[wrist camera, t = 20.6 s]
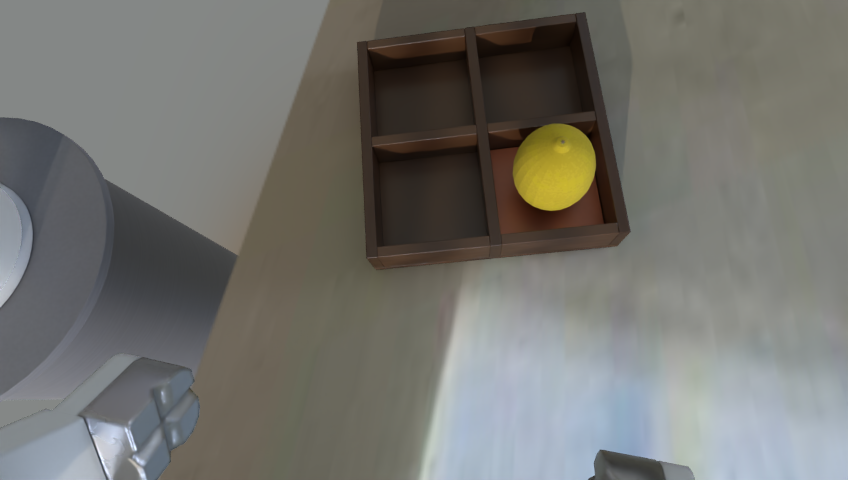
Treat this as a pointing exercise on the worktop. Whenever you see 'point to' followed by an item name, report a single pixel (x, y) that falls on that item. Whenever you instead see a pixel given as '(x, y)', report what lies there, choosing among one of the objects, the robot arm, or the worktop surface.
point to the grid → (479, 142)
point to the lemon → (554, 167)
